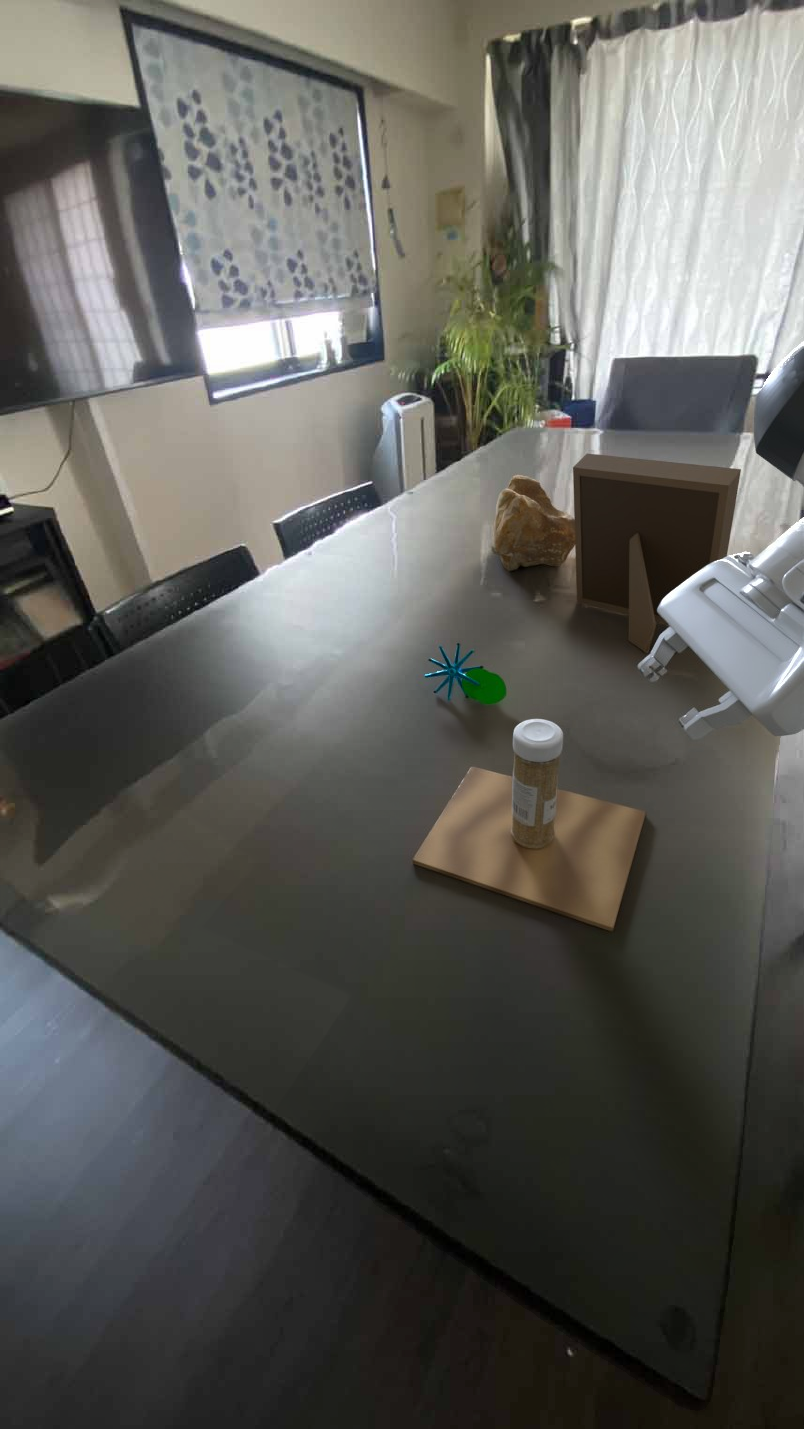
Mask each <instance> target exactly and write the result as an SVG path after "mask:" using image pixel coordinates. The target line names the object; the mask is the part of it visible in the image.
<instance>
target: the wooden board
mask: <svg viewBox="0 0 804 1429" xmlns="http://www.w3.org/2000/svg"><path fill="white" fill-rule="evenodd" d="M512 787H513V776H511V775H507V774H503V773H499V772H494V771H492V770H488V769H484V768H480V767H476V766H471V767H470V768H469V770H468V771H467V773H466V774H465V776H464V777H463V779H462V781H461V782H460V784H459V785H458V787H457V789H456V790H455V792H454V793H453V795H452V796H451V798H450V799H449V801H448V802H447V804H446V806H445V807H444V809H443V811H442V813H441V814H440V816H439V817H438V819H437V820H436V821H435V824H433V826H432V828H431V830H430V831H429V833H428V834H427V836H426V838H425V839H424V841H423V842H422V844H421V846H420V847H419V849H418V851H417V852H416V854H414V856H413V858H412V864H413V865H416V866H418V867H421V868H424V869H427V870H430V871H433V872H436V873H439V874H442V875H444V876H448V877H450V878H454V879H457V880H459V881H462V882H465V883H468V884H471V885H474V886H477V887H480V888H483V889H485V890H489V891H492V892H495V893H497V894H500V895H503V896H506V897H509V898H512V899H515V900H518V901H521V902H523V903H527V904H529V905H532V906H535V907H539V908H541V909H544V910H547V911H550V912H553V913H555V914H559V915H562V916H564V917H567V918H570V919H573V920H576V921H579V922H582V923H585V924H587V925H591V926H594V927H597V928H599V929H603V930H606V931H609V932H611V933H613V932H614V929H615V925H616V921H617V918H618V914H619V911H620V908H621V905H622V900H623V897H624V894H625V890H626V886H627V882H628V879H629V876H630V872H631V869H632V865H633V862H634V858H635V854H636V851H637V848H638V844H639V841H640V836H641V833H642V829H643V826H644V822H645V820H646V815H647V812H646V811H644V810H640V809H636V808H632V807H629V806H625V805H622V804H617V803H614V802H610V801H605V800H602V799H598V798H594V797H590V796H586V795H583V794H579V793H575V792H572V791H568V790H564V789H559V788H557V798H556V813H555V818H554V831H555V833H554V838H553V840H552V842H550V844H548V845H546V846H545V847H543V848H539V849H532V848H526V847H523V846H521V845H520V844H518V843H517V842H516V841H515V840H514V839H513V837H512V836H511V826H512V814H513V813H512Z"/></svg>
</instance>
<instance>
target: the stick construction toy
mask: <svg viewBox="0 0 804 1429" xmlns="http://www.w3.org/2000/svg"><path fill="white" fill-rule="evenodd" d="M438 649H439V652H440V654H441V656H442V658H443V660H444V663H445V664H444V663H442V662H440V661H437V660H435V659H432V658H428V659H427V661H428V662H430V663H432V664H434V665H435V666H437V667H439V668H441V669H442V670H441V671H437V672H433V673H429V674H428V673H427V674H425V675H424V676H423V678H425V679H430V678H438V677H445V679H444V680H443V681H442V682H441V683H440V684H439V685H438V687H436V689H435V690H433V694H438V693H439V692H440V691H441V690H442V689H443V688H444V687H445V686H446V685H447V684H448V686H447V697H446V701H448V702H451V701H452V699H451V698H452V693H453V687H454V683H455V681H456V683H457V684H458V686H459V688H460V689H461V691H462V693H463V695H464V698H465V699H471V700H473V701H477V702H479V703H481V704H483V705H489V706H490V705H495V704H498V703H500V702H501V701H502V700H504V698H506V696H507V686H506V683H505V681H504V679H503V678H502V677H501V675H499V674H497V673H496V672H491V671H489V670H487V669H485V667H484V665H477V666H470V667H463V665H465V663H466V661H468V659H469V658H470V657H471V656H472V655H473V654H475V651H476V650H474V649H470V650H469V652H467V654H466V655H464V656H463V657H462V658H461V659H460V655H461V643H460V642H457V643H456V649H455V655H454V660H453V663H452V661H451V660H450V658H449V657H448V655H447V653H446V652H445V649H444V647H443V646H442V645H438ZM462 667H463V668H462Z"/></svg>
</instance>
